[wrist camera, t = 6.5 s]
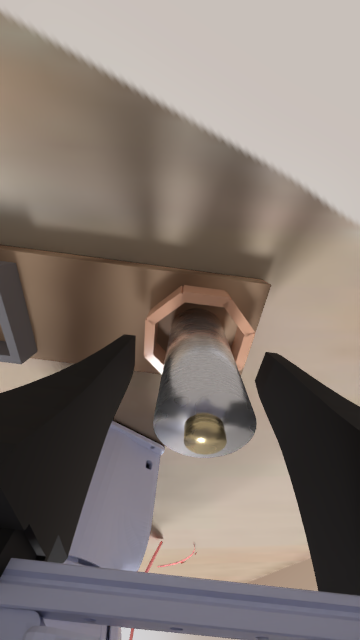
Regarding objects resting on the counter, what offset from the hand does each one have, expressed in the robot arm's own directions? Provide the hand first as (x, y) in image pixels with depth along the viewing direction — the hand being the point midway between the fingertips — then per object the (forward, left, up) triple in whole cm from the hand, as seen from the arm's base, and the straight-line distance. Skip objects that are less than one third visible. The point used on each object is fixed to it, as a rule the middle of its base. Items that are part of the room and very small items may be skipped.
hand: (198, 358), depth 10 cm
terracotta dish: (0, 0, -3) cm, 3 cm away
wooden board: (+6, +4, -4) cm, 9 cm away
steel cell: (0, 0, -3) cm, 3 cm away
